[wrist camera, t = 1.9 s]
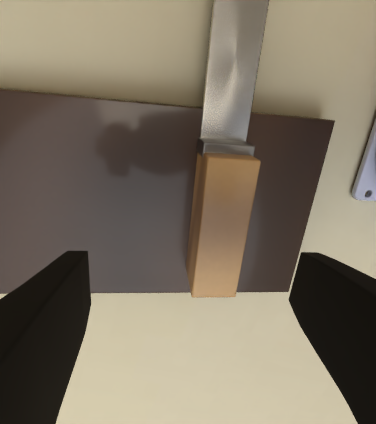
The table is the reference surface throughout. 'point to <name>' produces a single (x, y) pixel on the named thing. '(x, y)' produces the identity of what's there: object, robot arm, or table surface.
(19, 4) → the table surface
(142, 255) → the board
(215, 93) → the knife
